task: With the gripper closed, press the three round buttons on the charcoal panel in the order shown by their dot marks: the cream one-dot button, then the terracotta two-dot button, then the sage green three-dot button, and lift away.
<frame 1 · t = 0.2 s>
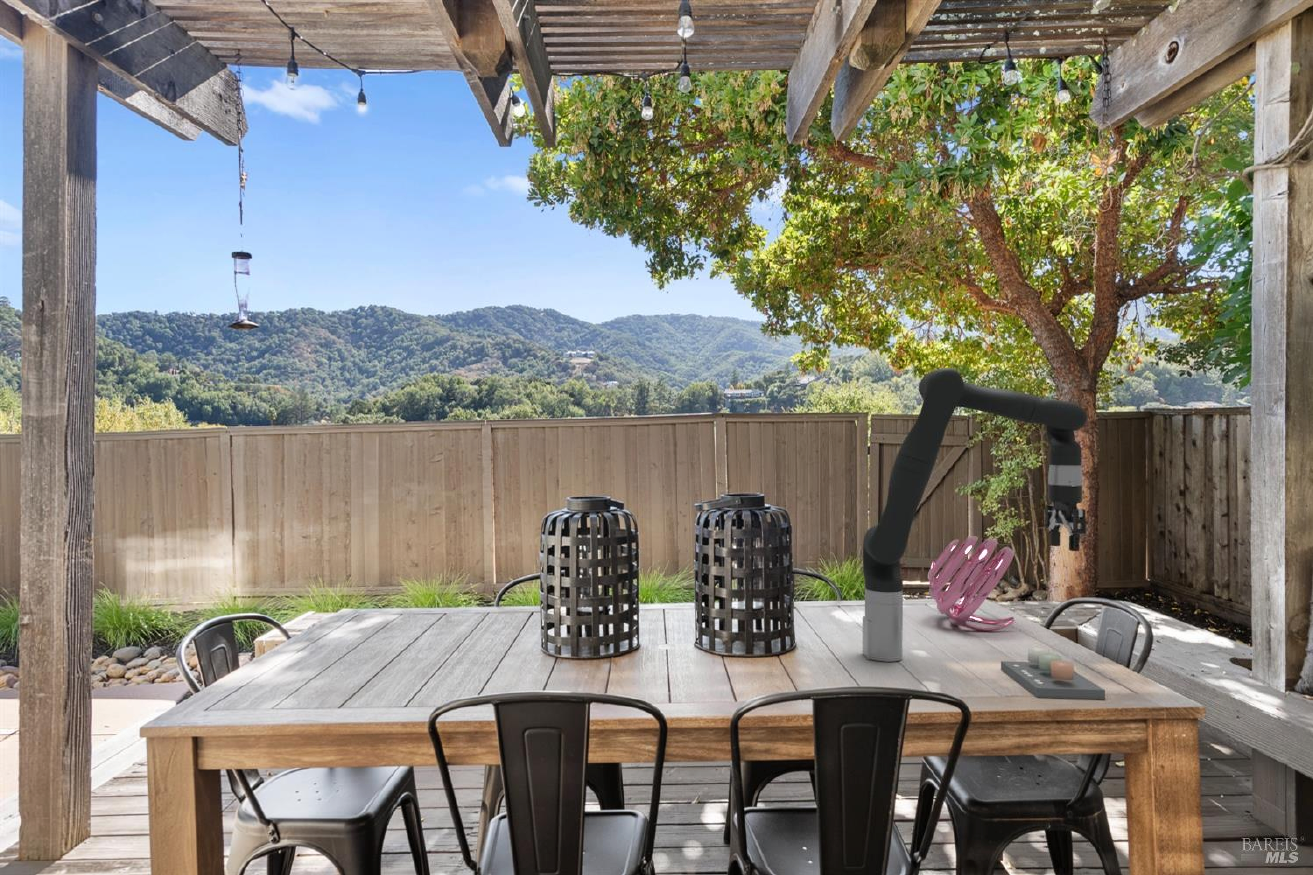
hand: (1064, 548, 188), 28 cm above the table, fingers open, 8 cm apart
charcoal panel: (1049, 683, 171), on the table
spiral basket: (970, 626, 226), on the table
cream button: (1038, 654, 177), point 5 cm above the table, slide at 0.0 cm
terracotta button: (1062, 670, 165), point 5 cm above the table, slide at 0.0 cm
sage button: (1049, 662, 171), point 5 cm above the table, slide at 0.0 cm
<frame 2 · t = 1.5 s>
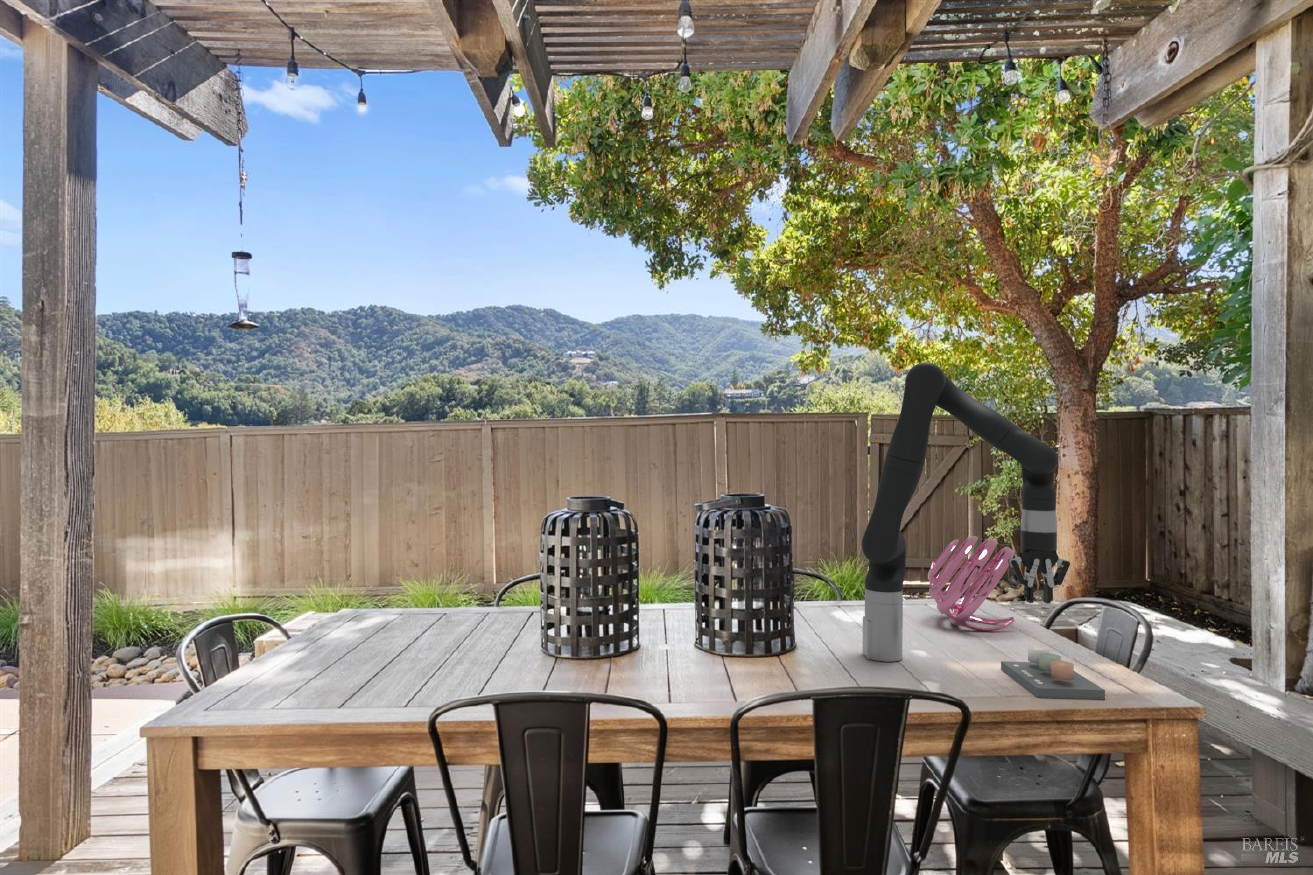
hand: (1038, 602, 177), 17 cm above the table, fingers open, 3 cm apart
nothing on the table moved.
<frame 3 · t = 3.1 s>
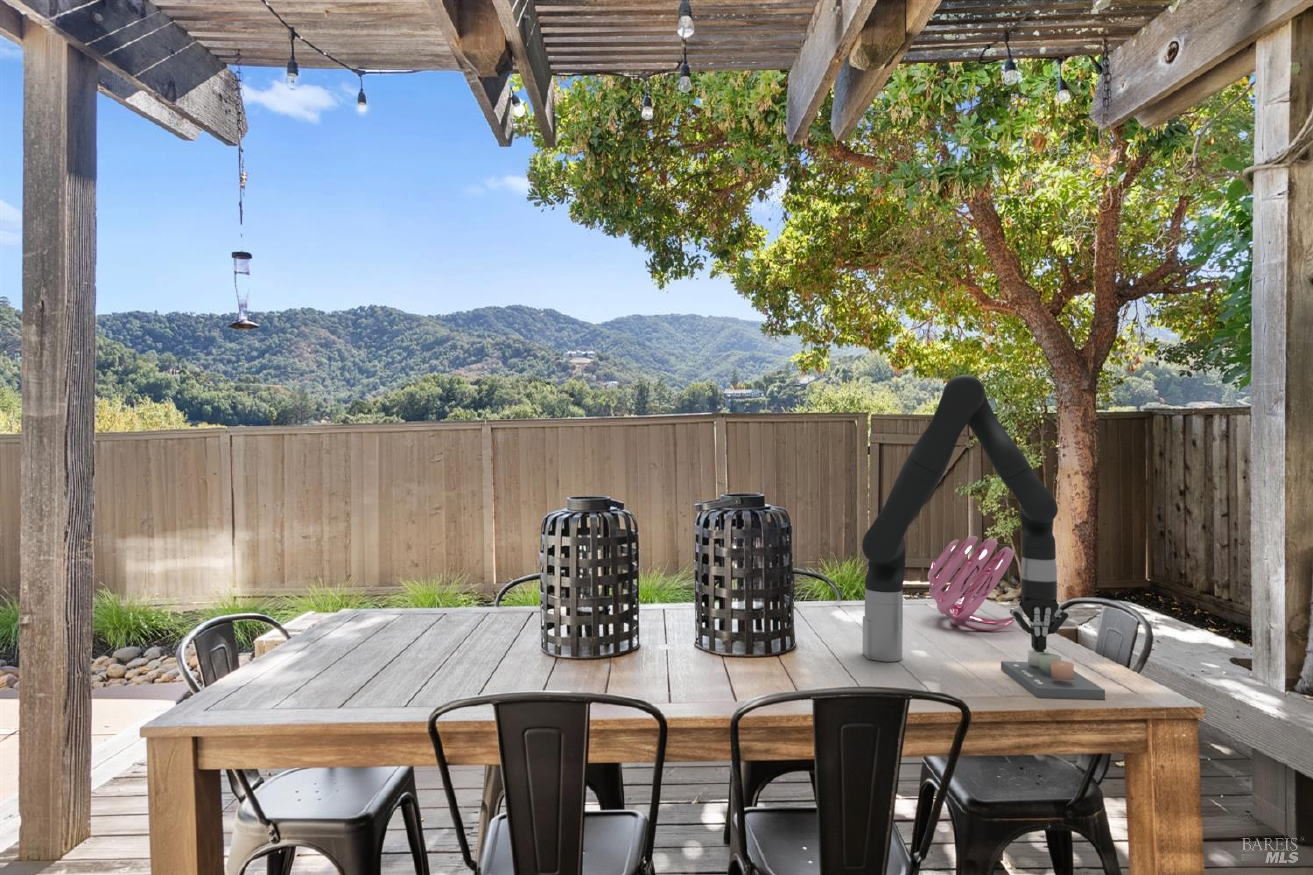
hand: (1039, 651, 177), 6 cm above the table, fingers closed
cream button: (1038, 657, 177), point 4 cm above the table, slide at 0.6 cm, touching gripper
everything else where it was.
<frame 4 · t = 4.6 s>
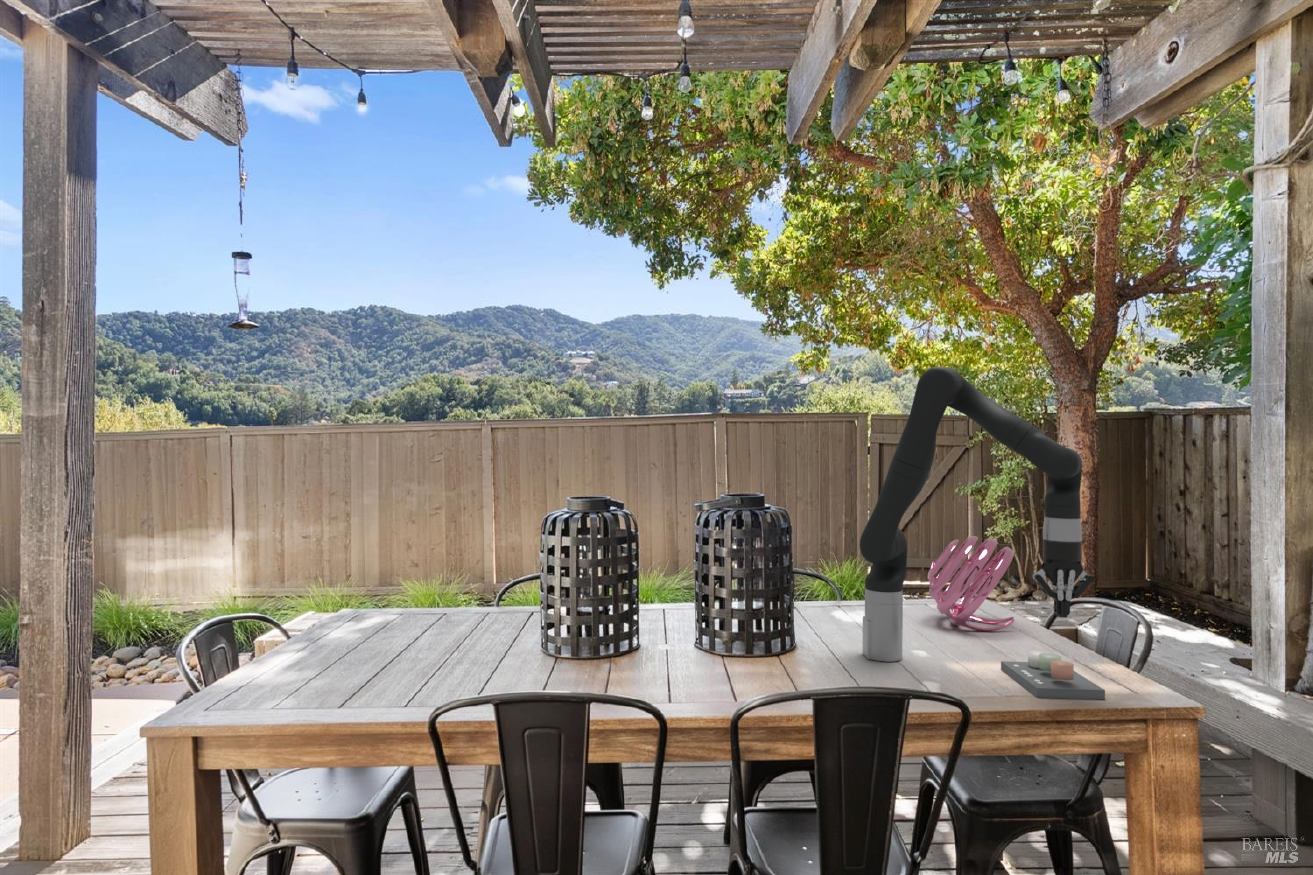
hand: (1061, 616, 166), 16 cm above the table, fingers closed
cream button: (1038, 659, 177), point 4 cm above the table, slide at 1.0 cm
everything else where it was.
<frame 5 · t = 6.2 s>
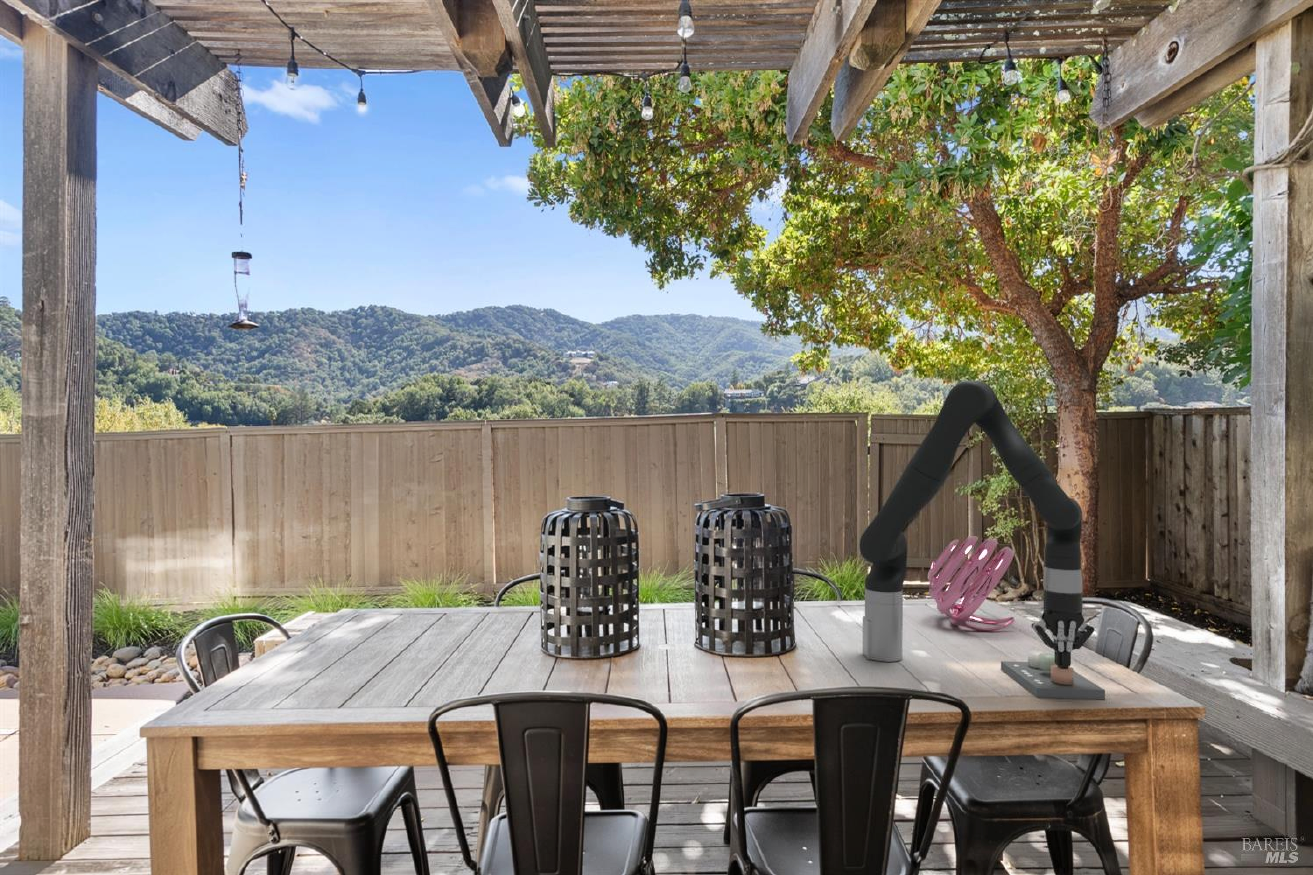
hand: (1062, 667, 165), 5 cm above the table, fingers closed
terracotta button: (1062, 674, 165), point 4 cm above the table, slide at 0.9 cm, touching gripper
everything else where it was.
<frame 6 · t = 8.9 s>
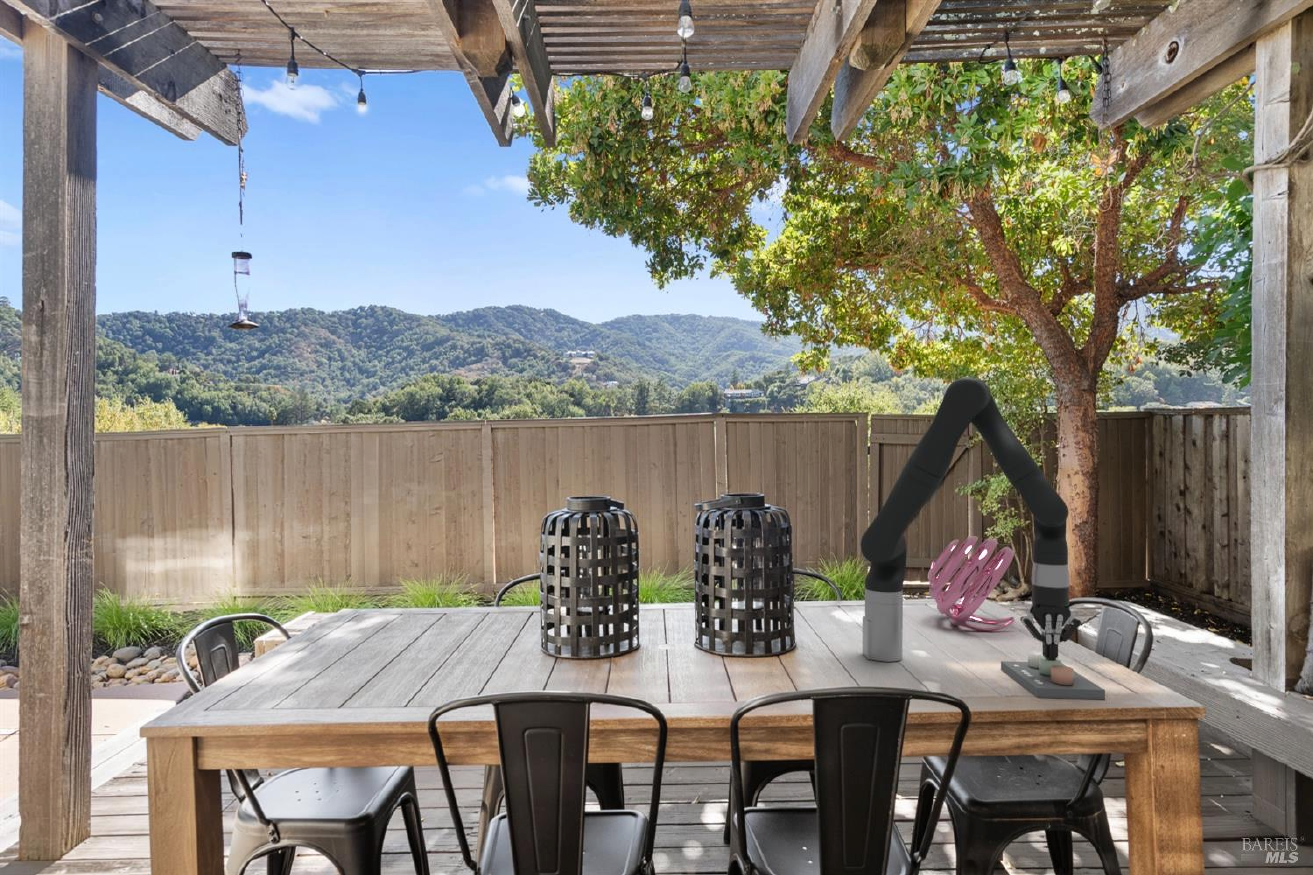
hand: (1050, 659, 171), 5 cm above the table, fingers closed
terracotta button: (1062, 674, 165), point 4 cm above the table, slide at 1.0 cm
sage button: (1049, 666, 171), point 4 cm above the table, slide at 0.9 cm, touching gripper
everything else where it was.
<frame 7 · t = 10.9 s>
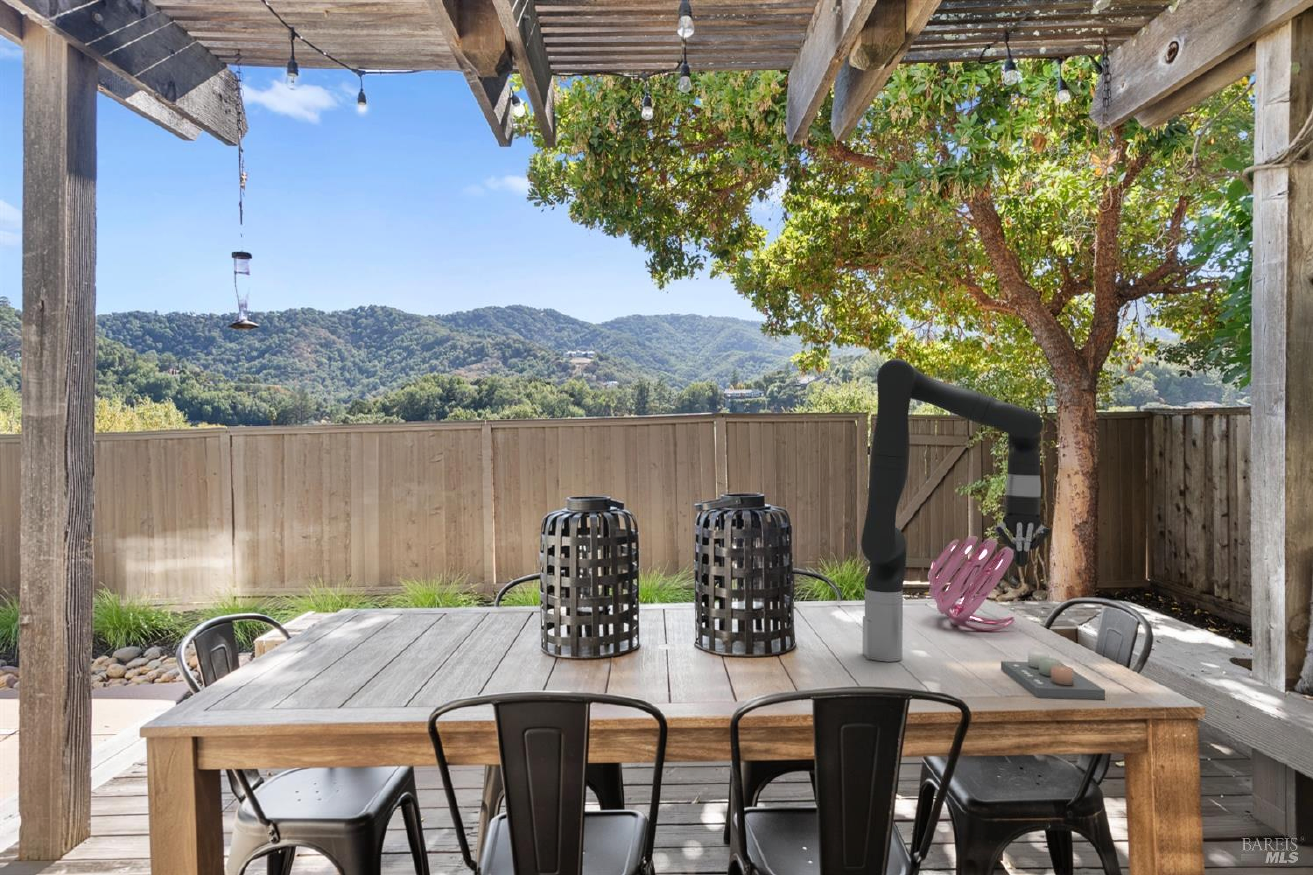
hand: (1020, 566, 180), 25 cm above the table, fingers closed
sage button: (1049, 666, 171), point 4 cm above the table, slide at 1.0 cm
everything else where it was.
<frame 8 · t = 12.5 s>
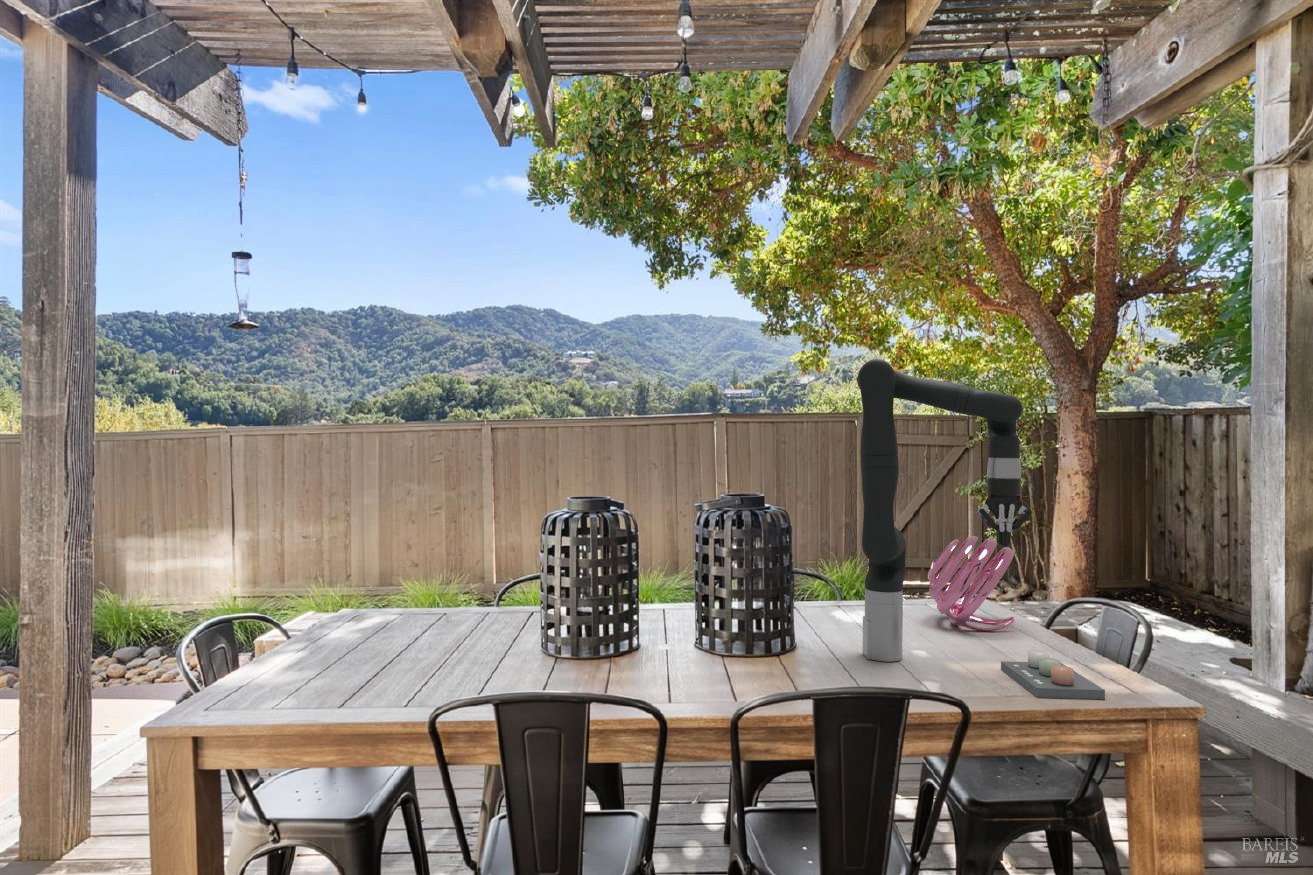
hand: (1003, 546, 185), 29 cm above the table, fingers closed
nothing on the table moved.
at the end: cream button slide at 1.0 cm; terracotta button slide at 1.0 cm; sage button slide at 1.0 cm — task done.
